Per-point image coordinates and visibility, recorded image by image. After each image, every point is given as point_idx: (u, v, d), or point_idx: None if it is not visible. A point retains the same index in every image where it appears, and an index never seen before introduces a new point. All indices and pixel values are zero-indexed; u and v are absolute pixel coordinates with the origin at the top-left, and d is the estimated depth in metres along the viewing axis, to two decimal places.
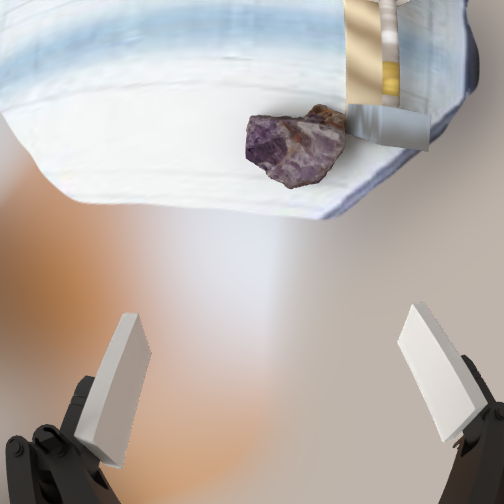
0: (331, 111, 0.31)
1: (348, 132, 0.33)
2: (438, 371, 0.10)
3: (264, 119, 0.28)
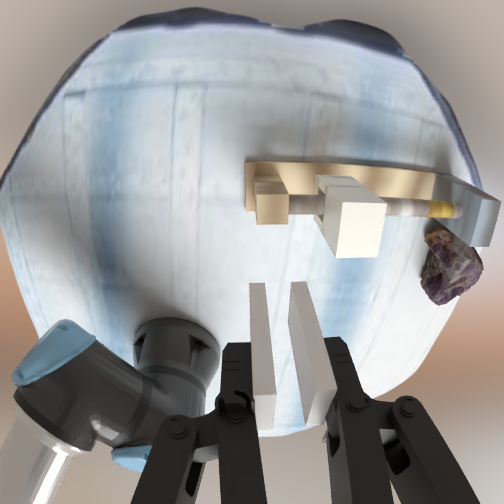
0: (435, 233, 0.36)
1: None
2: (300, 349, 0.12)
3: (437, 295, 0.37)
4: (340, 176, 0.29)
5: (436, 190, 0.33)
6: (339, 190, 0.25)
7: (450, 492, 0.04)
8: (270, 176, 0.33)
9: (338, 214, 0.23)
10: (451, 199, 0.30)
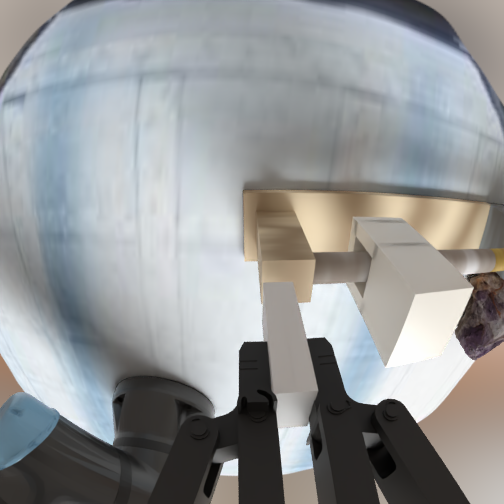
0: (482, 278, 0.25)
1: None
2: None
3: (475, 351, 0.26)
4: (387, 219, 0.19)
5: (490, 227, 0.23)
6: (399, 257, 0.14)
7: (439, 496, 0.04)
8: (280, 212, 0.22)
9: (400, 308, 0.13)
10: None
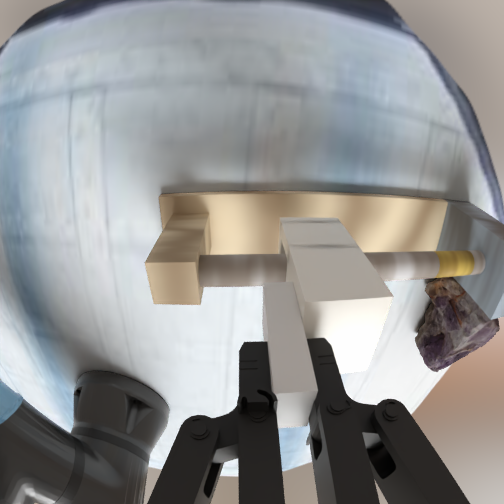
0: (440, 283, 0.25)
1: None
2: None
3: (435, 362, 0.26)
4: (318, 219, 0.19)
5: (448, 226, 0.23)
6: (308, 261, 0.14)
7: (439, 496, 0.04)
8: (194, 215, 0.22)
9: None
10: (470, 243, 0.20)
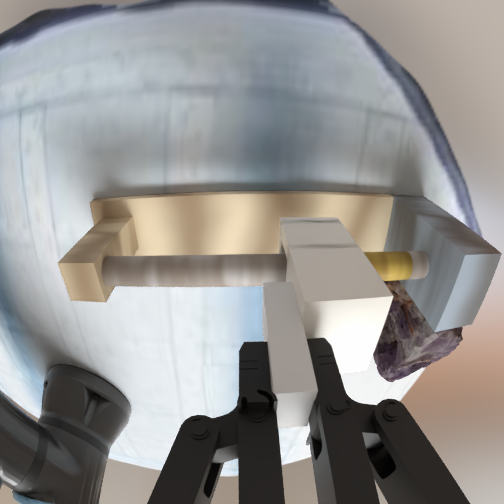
0: (389, 287, 0.25)
1: None
2: None
3: (388, 372, 0.26)
4: (318, 219, 0.19)
5: (393, 224, 0.23)
6: (308, 261, 0.14)
7: (439, 496, 0.04)
8: (118, 218, 0.22)
9: None
10: (414, 243, 0.19)
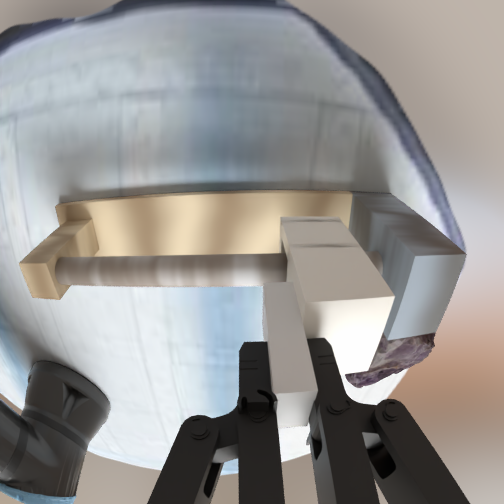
0: None
1: None
2: None
3: (354, 377, 0.26)
4: (319, 218, 0.19)
5: (352, 223, 0.22)
6: (308, 260, 0.14)
7: (439, 496, 0.04)
8: (79, 221, 0.22)
9: None
10: (370, 243, 0.19)
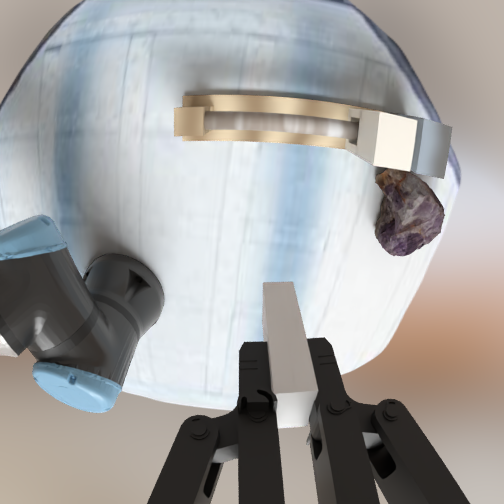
0: (385, 172, 0.35)
1: None
2: None
3: (390, 242, 0.36)
4: None
5: None
6: None
7: (439, 496, 0.04)
8: (204, 106, 0.32)
9: (374, 125, 0.22)
10: None
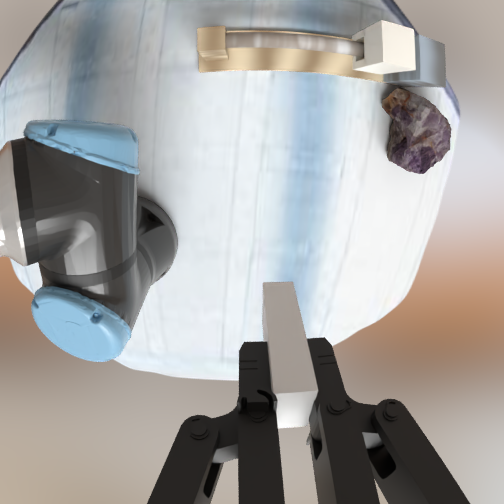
0: (390, 96, 0.33)
1: (406, 86, 0.33)
2: None
3: (404, 157, 0.34)
4: None
5: None
6: None
7: (439, 496, 0.04)
8: None
9: (379, 32, 0.21)
10: None
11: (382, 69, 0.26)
